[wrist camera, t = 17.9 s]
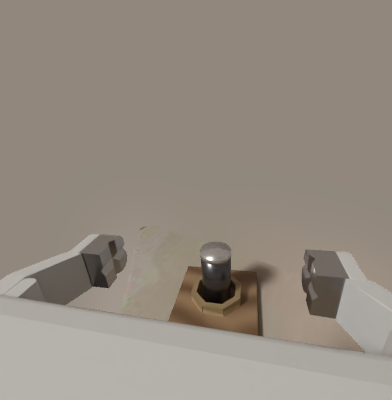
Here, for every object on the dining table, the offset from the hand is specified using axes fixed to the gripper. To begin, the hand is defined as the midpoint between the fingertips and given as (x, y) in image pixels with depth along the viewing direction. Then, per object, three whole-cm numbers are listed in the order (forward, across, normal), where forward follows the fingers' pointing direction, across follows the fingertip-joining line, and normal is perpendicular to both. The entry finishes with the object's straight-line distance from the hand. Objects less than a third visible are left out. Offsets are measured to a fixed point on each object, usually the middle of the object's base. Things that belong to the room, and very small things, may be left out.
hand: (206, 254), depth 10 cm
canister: (+27, +4, +30) cm, 41 cm away
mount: (+27, +4, +32) cm, 42 cm away
